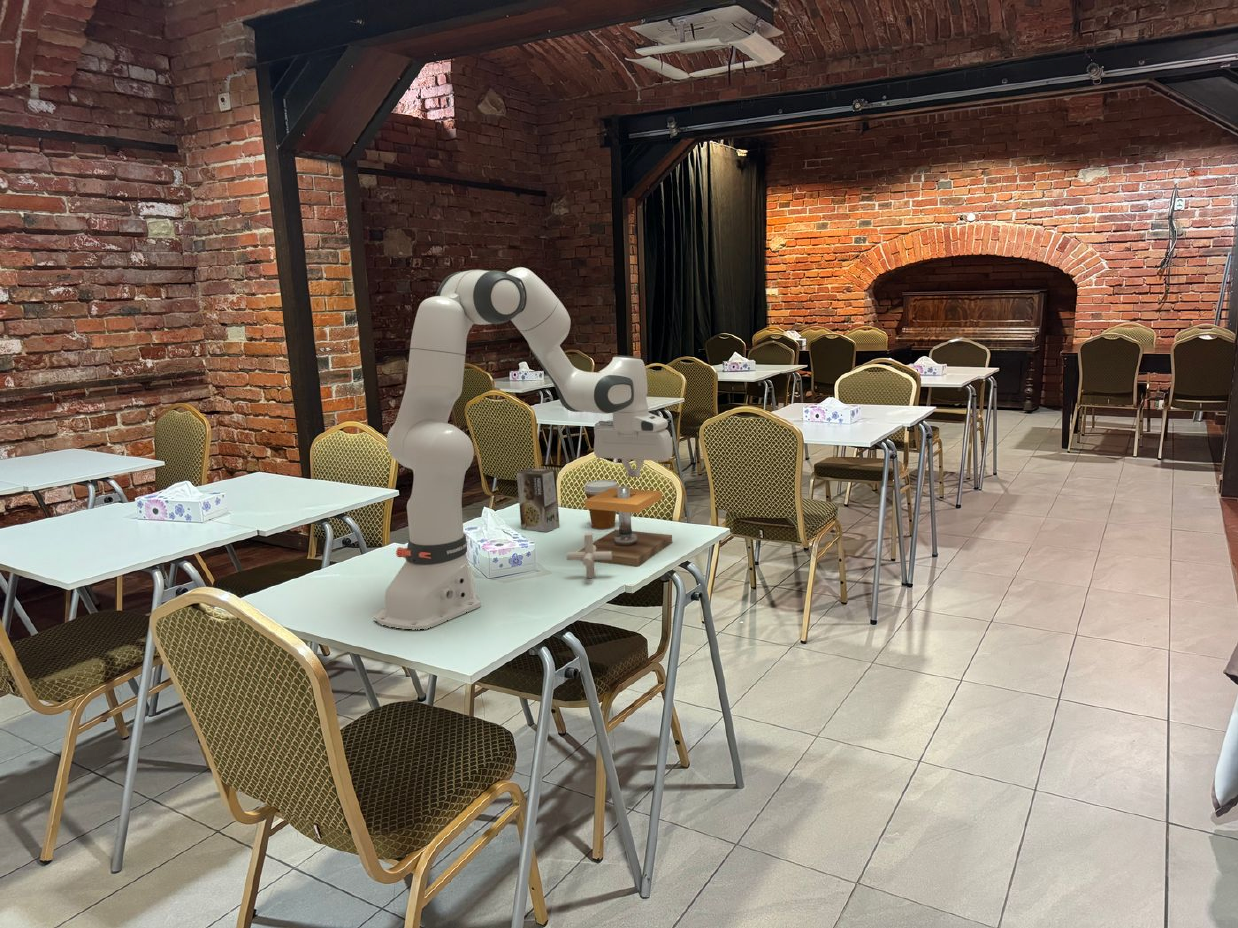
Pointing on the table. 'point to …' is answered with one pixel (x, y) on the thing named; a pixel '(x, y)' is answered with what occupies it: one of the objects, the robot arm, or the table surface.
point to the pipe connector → (589, 555)
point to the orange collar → (623, 500)
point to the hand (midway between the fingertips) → (633, 476)
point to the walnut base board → (632, 548)
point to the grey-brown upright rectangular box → (538, 499)
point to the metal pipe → (625, 523)
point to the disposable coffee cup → (600, 517)
